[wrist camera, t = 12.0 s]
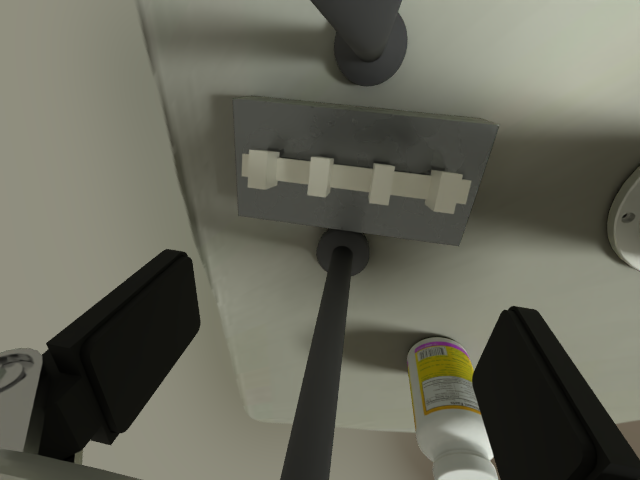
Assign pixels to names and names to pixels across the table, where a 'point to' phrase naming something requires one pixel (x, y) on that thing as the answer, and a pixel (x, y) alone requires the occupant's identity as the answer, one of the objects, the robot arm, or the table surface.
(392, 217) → the breaker panel
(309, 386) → the cable upright
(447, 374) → the supplement bottle
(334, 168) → the breaker paddles
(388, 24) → the cable upright
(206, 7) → the table surface
